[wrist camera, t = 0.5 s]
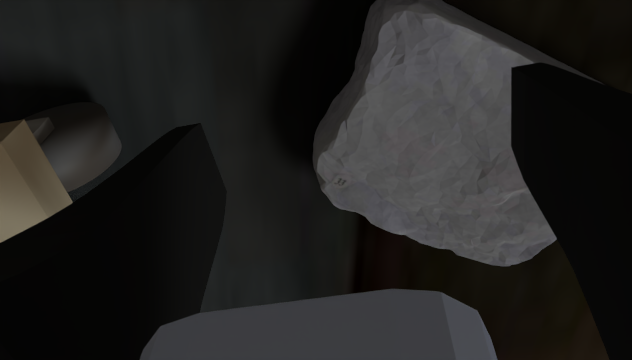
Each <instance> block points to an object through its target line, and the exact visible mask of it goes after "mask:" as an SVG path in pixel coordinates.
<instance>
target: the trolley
mask: <svg viewBox="0 0 632 360" xmlns="http://www.w3.org/2000/svg"><path fill="white" fill-rule="evenodd" d="M121 147H122V145H121V142H120V139H119V137H118V135H117V133H116V131H115V129H114V127H113V125H112V123H111V121H110V119H109V117H108V114H107V112H106V110H105V108H104V107H103V106H102V105H100V104H97V103H93V102H78V103H71V104H65V105H61V106H57V107H53V108H50V109H47V110H44V111H41V112H38V113H35V114H33V115H30V116H28V117H26V118H24V119H22V120H18V121H12V122H6V123H1V124H0V243H1V242H3V241H5V240H7V239H9V238H11V237H12V236H14V235H16V234H18V233H20V232H22V231H24V230H26V229H28V228H30V227H32V226H34V225H36V224H38V223H39V222H41V221H43V220H45V219H47V218H49V217H50V216H52V215H54V214H55V213H57V212H59V211H60V210H62V209H64V208H65V207H67V206H68V205H70V204H72V203H73V202H72V200H71V198H70V197H69V195H68V192H70V191H72V190H74V189H77V188H79V187H81V186H82V185H84V184H86V183H88V182H89V181H91V180H93V179H94V178H96V177H97V176H99V175H100V174H101V173H103V172H104V171H105V170H106V169H107V168H109V167H110V166H111V165H112V164H113V162H114V161H115V160H116V159H117V157H118V156H119V154H120V152H121Z"/></svg>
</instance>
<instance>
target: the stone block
mask: <svg viewBox="0 0 632 360" xmlns="http://www.w3.org/2000/svg"><path fill="white" fill-rule="evenodd" d="M539 62H542V63H546V64H550V65H553V66H556V67H559V68H562V69H564V70H567V71H570V72H572V73H575V74H577V75H580V76H583V77H585V78H588V79H591V80H593V81H596V82H599V81H597V80H595V79H593V78H591V77H589V76H587V75H585V74H583V73H581V72H579V71H577V70H575V69H573V68H572V67H570V66H568V65H566V64H564V63H561V62H559V61H557V60H555V59H553V58H552V57H550V56H548V55H546V54H544V53H542V52H540V51H538V50H537V49H535V48H533V47H531V46H529V45H527V44H525V43H523V42H521V41H519V40H517V39H515V38H513V37H511V36H509V35H508V34H506V33H504V32H502V31H500V30H498V29H495V28H493V27H491V26H489V25H488V24H486V23H484V22H481V21H479V20H477V19H475V18H474V17H472V16H470V15H468V14H466V13H464V12H462V11H461V10H459V9H457V8H455V7H453V6H451V5H449V4H447V3H445V2H444V1H442V0H376V1H375V2H374V3H373V4H372V5H371V6H370V9H369V12H368V15H367V18H366V21H365V28H364V32H363V34H362V40H361V46H360V48H359V51H358V53H357V57H356V61H355V70H354V72H353V75H352V77H351V79H350V81H349V82H348V83H347V85H346V86H345V87H344V88H343V90H342V91H341V92H340V94H338V95H337V96H336V97H335V98H334V100H333V101H332V103H331V105H330V107H329V108H328V111H327V113H326V114H325V116H324V118H323V119H322V120H321V121H320V123H319V126H318V127H317V129H316V132H315V136H314V143H313V148H314V150H313V166H314V170H315V172H316V174H317V178H318V181H319V184H320V187H321V190H322V191H323V192H324V193H325V194H326V195H327V197H328V198H329V199H330V201H331V202H332V204H333V205H334V206H336V207H338V208H340V209H343V210H348V211H354V212H357V213H359V214H361V215H363V216H365V217H366V218H367V219H368V220H369V222H370V223H372V224H374V225H376V226H378V227H380V228H382V229H384V230H386V231H389V232H391V233H395V234H400V235H404V234H405V235H407V236H408V237H410V238H412V239H414V240H416V241H418V242H419V243H422V244H426V245H430V246H432V247H436V248H441V249H450V250H452V251H453V252H455V253H456V254H457V255H459V256H463V257H467V258H470V259H473V260H477V261H480V262H483V263H488V264H491V265H498V266H510V265H511V264H518V263H520V261H521V262H523V261H526V260H529V259H531V258H532V257H533V256H534V255H536V254H537V253H538V252H539V251H540V250H542V249H543V248H545V247H546V246H548V245H550V244H551V243H553V242H554V241H555V240H556V239H557V238H556V236H555V235H554V233H553V231H552V229H551V228H550V226H549V224H548V222H547V221H546V219H545V217H544V215H543V214H542V212H541V210H540V209H539V207H538V205H537V203H536V201H535V200H534V198H533V196H532V194H531V193H530V191H529V189H528V187H527V185H526V184H525V182H524V180H523V177H522V175H521V172H520V170H519V167H518V164H517V162H516V159H515V156H514V153H513V150H512V148H511V67H516V66H522V65H527V64H533V63H539ZM599 83H601V82H599ZM601 84H603V83H601ZM604 85H605V84H604Z"/></svg>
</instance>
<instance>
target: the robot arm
mask: <svg viewBox="0 0 632 360" xmlns="http://www.w3.org/2000/svg"><path fill="white" fill-rule="evenodd" d="M511 148H512V150H513V153H514V156H515V159H516V162H517V164H518V167H519V170H520V172H521V175H522V177H523V180H524V182H525V184H526V185H527V187H528V189H529V191H530V193H531V194H532V196H533V198H534V200H535V201H536V203H537V205H538V207H539V209H540V210H541V212H542V214H543V215H544V217H545V219H546V221H547V222H548V224H549V226H550V228H551V229H552V231H553V233H554V235H555V236H556V238H557V240H558V242H559V243H560V245H561V247H562V248H563V250H564V252H565V254H566V256H567V258H568V260H569V262H570V264H571V266H572V268H573V270H574V272H575V274H576V277H577V279H578V282H579V284H580V286H581V289H582V291H583V293H584V296H585V298H586V301H587V303H588V305H589V308H590V310H591V313H592V315H593V318H594V321H595V323H596V326H597V328H598V331H599V333H600V336H601V338H602V341H603V343H604V346H605V348H606V351H607V354H608V357H609V359H610V360H632V94H630V93H627V92H624V91H621V90H618V89H615V88H612V87H610V86H607V85H604V84H601V83H599V82H596V81H593V80H591V79H588V78H585V77H583V76H580V75H577V74H575V73H572V72H570V71H567V70H564V69H562V68H559V67H556V66H553V65H550V64H546V63H542V62H539V63H533V64H527V65H522V66H516V67H511ZM226 193H227V191H226V188H225V186H224V183H223V181H222V178H221V175H220V173H219V170H218V168H217V165H216V162H215V160H214V157H213V154H212V152H211V149H210V147H209V144H208V141H207V139H206V136H205V134H204V131H203V128H202V126H201V123H198V124H193V125H187V126H182V127H176V128H175V129H173V130H171V131H169V132H168V133H166V134H165V135H163V136H162V137H161V138H159V139H158V140H157V141H155V142H154V143H153V144H151V145H150V146H149V147H148V148H146V149H145V150H144V151H143V152H141V153H140V154H139V155H137V156H136V157H135V158H134V159H132V160H131V161H130V162H129V163H127V164H126V165H125V166H124V167H122V168H121V169H120V170H118V171H117V172H116V173H114V174H113V175H112V176H110V177H109V178H107V179H106V180H105V181H103V182H102V183H101V184H99V185H98V186H97V187H95V188H94V189H92V190H91V191H90V192H88V193H87V194H85V195H84V196H82V197H81V198H79V199H78V200H76V201H75V202H73V203H72V204H70V205H68V206H67V207H65V208H64V209H62V210H60V211H59V212H57V213H55V214H54V215H52V216H50V217H49V218H47V219H45V220H43V221H41V222H39V223H38V224H36V225H34V226H32V227H30V228H28V229H26V230H24V231H22V232H20V233H18V234H16V235H14V236H12V237H11V238H9V239H7V240H5V241H3V242H1V243H0V360H497V357H496V354H495V351H494V347H493V344H492V341H491V338H490V336H489V334H488V332H487V330H486V328H485V326H484V323H483V321H482V319H481V317H480V315H479V313H478V311H477V310H475V309H473V308H471V307H469V306H467V305H465V304H463V303H461V302H459V301H457V300H455V299H453V298H451V297H449V296H447V295H446V294H444V293H442V292H437V291H423V290H405V289H387V290H379V291H371V292H363V293H355V294H346V295H338V296H330V297H322V298H314V299H306V300H298V301H290V302H282V303H274V304H266V305H258V306H250V307H242V308H234V309H226V310H218V311H210V312H202V313H200V308H201V304H202V300H203V296H204V292H205V289H206V285H207V282H208V278H209V274H210V271H211V267H212V264H213V260H214V257H215V253H216V250H217V246H218V242H219V238H220V235H221V231H222V227H223V221H224V213H225V204H226Z"/></svg>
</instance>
